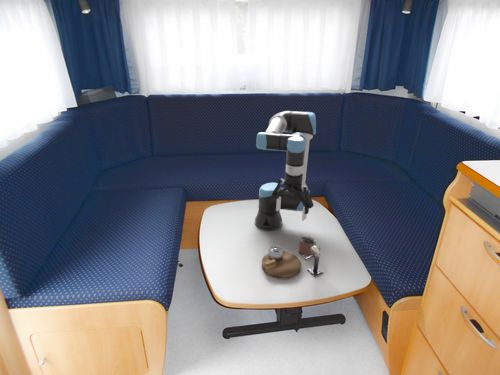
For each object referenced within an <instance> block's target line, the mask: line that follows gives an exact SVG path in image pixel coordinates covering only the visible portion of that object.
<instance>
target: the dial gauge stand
mask: <svg viewBox="0 0 500 375" xmlns="http://www.w3.org/2000/svg"><path fill="white" fill-rule="evenodd" d="M310 252H311V254H312V255H311V256H309V257H308V256H305V257H304V260H305V261H307V260H309V259H312V258H314V259H313V260H314V261H313V266H312V267H310V268H307V272H308V273H309V272H310V273H309V274H310V275H312V276H313V277H314V278H316V277H319V275H322V274H324V271H323V270H321V269H320V268H319V262H320V256H321V248H320V247H318V246H317V245H316V246H312V247H311V248H310Z"/></svg>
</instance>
